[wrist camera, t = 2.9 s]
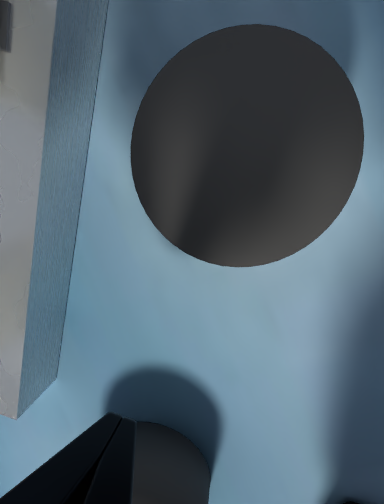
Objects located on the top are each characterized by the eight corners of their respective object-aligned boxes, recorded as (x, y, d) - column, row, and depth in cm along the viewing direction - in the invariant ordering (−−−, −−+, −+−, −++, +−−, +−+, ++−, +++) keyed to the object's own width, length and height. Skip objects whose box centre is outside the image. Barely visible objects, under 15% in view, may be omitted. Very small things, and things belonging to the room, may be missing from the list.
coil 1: (224, 447, 13) (221, 522, 10) (193, 530, 14) (183, 618, 11) (108, 406, 13) (73, 466, 10) (91, 490, 15) (56, 563, 12)
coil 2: (350, 98, 9) (408, 51, 6) (290, 264, 10) (312, 292, 7) (179, 62, 9) (154, 2, 6) (146, 224, 11) (114, 235, 8)
